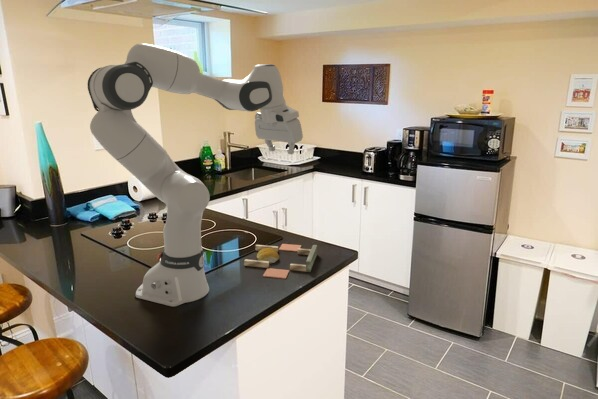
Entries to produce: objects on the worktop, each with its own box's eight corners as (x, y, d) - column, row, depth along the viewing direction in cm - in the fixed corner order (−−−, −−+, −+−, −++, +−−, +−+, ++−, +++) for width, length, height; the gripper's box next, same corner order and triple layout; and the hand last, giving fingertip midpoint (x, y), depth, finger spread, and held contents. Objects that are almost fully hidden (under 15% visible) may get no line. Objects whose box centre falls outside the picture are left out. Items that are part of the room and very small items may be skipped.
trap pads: (263, 276, 144) (263, 275, 143) (282, 244, 171) (282, 243, 171) (285, 278, 142) (285, 277, 142) (301, 246, 170) (301, 245, 170)
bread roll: (276, 253, 163) (276, 244, 162) (280, 263, 155) (280, 253, 154) (255, 255, 161) (255, 245, 160) (258, 265, 153) (258, 255, 152)
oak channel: (244, 265, 152) (244, 255, 151) (256, 249, 166) (256, 239, 165) (310, 271, 147) (310, 261, 146) (316, 254, 162) (317, 245, 161)
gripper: (247, 114, 145) (255, 152, 150) (288, 117, 131) (295, 158, 137) (260, 109, 149) (268, 146, 154) (302, 112, 135) (308, 152, 140)
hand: (281, 152), depth 145 cm, fingers open, 8 cm apart
